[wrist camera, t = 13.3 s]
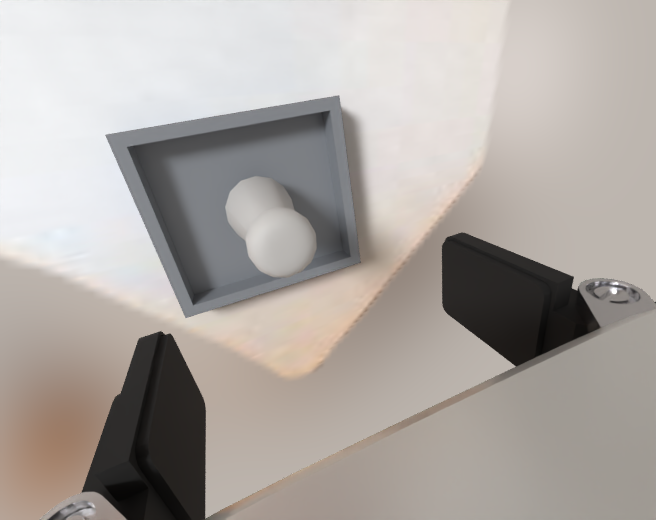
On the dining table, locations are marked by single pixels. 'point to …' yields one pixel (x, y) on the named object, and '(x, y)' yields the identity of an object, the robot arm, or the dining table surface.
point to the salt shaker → (271, 227)
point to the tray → (221, 177)
